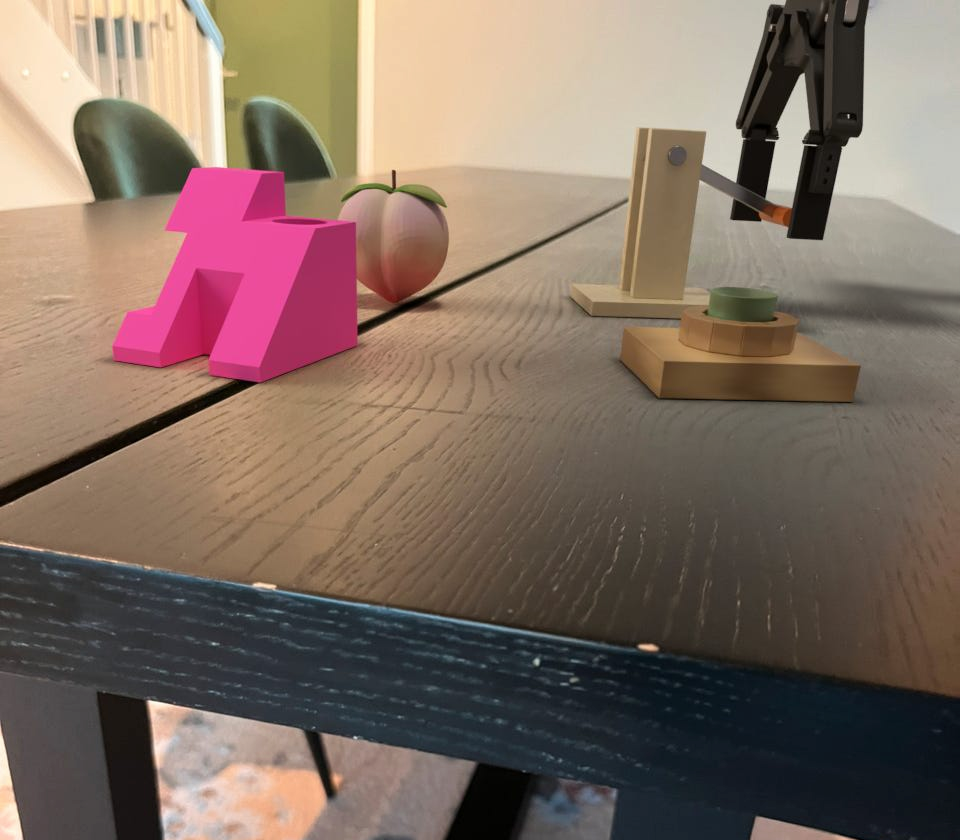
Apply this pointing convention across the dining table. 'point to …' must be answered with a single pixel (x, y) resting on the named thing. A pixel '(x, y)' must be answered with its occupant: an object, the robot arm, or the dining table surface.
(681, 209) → the bracket
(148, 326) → the bracket
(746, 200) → the lever
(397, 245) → the decorative fruit
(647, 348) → the button block
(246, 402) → the dining table surface
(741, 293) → the button
